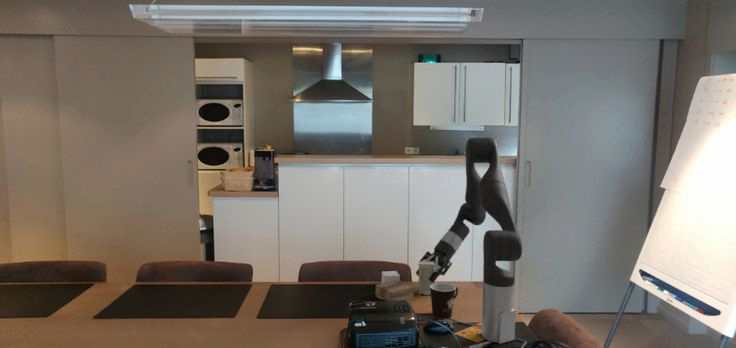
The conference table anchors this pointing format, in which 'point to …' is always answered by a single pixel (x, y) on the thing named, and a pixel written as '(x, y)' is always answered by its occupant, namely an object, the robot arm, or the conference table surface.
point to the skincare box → (425, 276)
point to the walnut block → (394, 291)
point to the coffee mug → (442, 299)
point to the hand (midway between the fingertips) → (423, 278)
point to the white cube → (390, 276)
